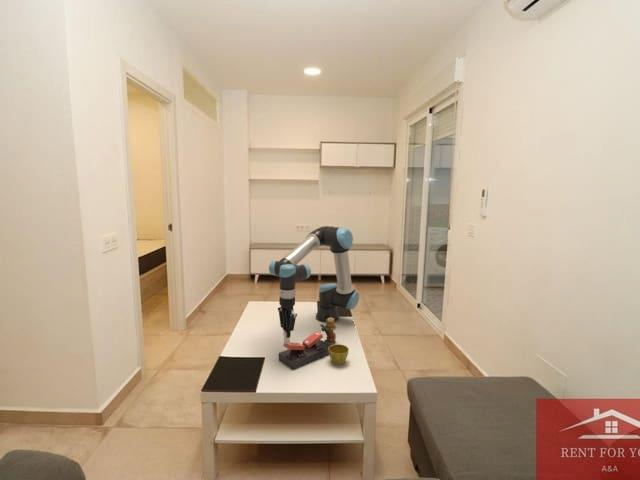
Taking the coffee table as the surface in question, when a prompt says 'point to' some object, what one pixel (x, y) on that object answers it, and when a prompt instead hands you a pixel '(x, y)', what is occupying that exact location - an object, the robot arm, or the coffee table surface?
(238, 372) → the coffee table surface
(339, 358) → the flower pot
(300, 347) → the plate
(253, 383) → the coffee table surface
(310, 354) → the power strip
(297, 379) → the coffee table surface
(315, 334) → the rocker
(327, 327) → the figurine
